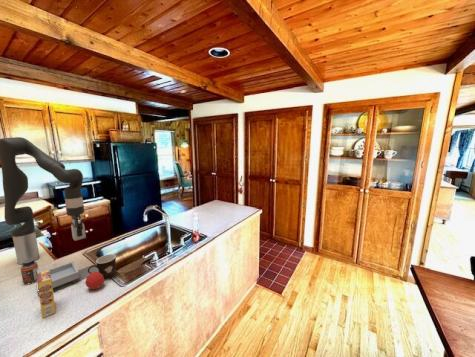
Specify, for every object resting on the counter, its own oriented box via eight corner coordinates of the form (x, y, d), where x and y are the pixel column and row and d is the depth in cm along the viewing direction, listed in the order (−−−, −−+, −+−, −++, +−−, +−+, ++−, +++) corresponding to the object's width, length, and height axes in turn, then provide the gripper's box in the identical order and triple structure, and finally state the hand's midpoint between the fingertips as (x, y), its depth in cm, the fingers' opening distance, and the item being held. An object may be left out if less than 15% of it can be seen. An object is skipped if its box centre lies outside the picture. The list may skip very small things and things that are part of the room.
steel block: (72, 238, 110) (70, 224, 108) (83, 235, 113) (82, 222, 112) (74, 240, 106) (72, 226, 105) (85, 237, 110) (84, 224, 109)
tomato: (84, 277, 89) (100, 265, 96) (79, 282, 93) (95, 270, 100) (96, 290, 90) (111, 277, 96) (90, 294, 93) (105, 282, 100)
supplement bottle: (19, 286, 96) (15, 264, 95) (28, 278, 102) (25, 258, 100) (34, 283, 98) (30, 262, 96) (42, 276, 104) (39, 256, 102)
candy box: (56, 312, 80) (51, 278, 78) (42, 318, 77) (35, 284, 75) (54, 301, 87) (49, 269, 84) (41, 306, 83) (35, 274, 81)
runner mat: (36, 286, 96) (36, 285, 96) (99, 263, 115) (99, 262, 115) (38, 297, 89) (38, 296, 89) (104, 270, 108) (104, 270, 108)
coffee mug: (119, 269, 109) (117, 252, 107) (115, 279, 101) (113, 261, 99) (94, 274, 105) (92, 257, 103) (88, 284, 97) (86, 266, 95)
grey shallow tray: (38, 282, 98) (36, 268, 97) (74, 269, 108) (72, 257, 107) (41, 296, 89) (38, 281, 88) (80, 280, 99) (78, 267, 98)
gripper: (63, 204, 109) (67, 233, 111) (68, 209, 100) (72, 241, 102) (80, 201, 114) (84, 229, 117) (86, 206, 105) (90, 236, 108)
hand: (78, 234), depth 110 cm, fingers closed on steel block, 5 cm apart
